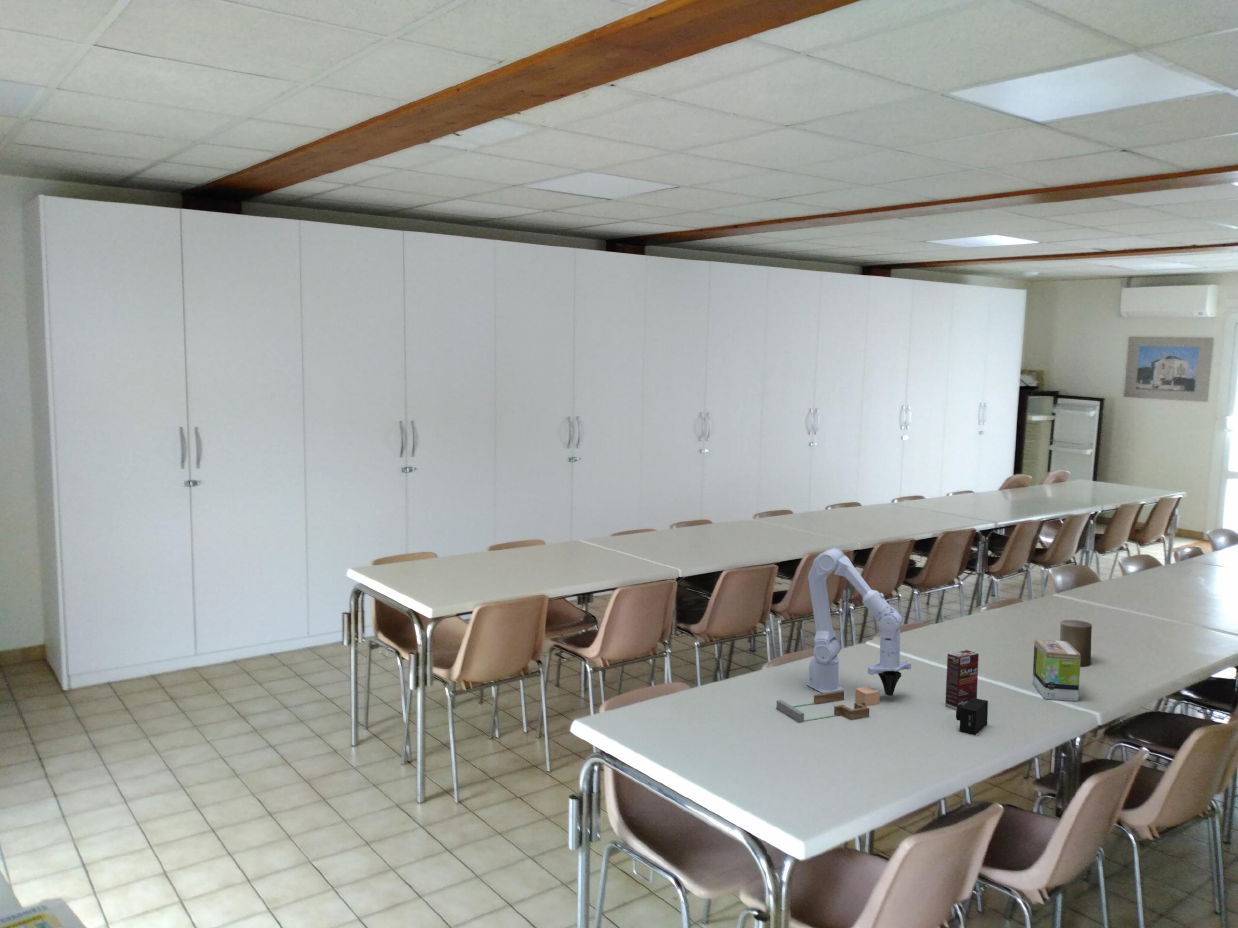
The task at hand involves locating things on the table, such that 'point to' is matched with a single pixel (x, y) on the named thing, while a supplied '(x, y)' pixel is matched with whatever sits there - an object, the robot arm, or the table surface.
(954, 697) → the supplement box
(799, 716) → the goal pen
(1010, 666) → the table surface
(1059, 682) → the tea box
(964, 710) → the digital camera
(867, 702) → the block
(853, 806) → the table surface
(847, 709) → the channel
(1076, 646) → the pillar candle
